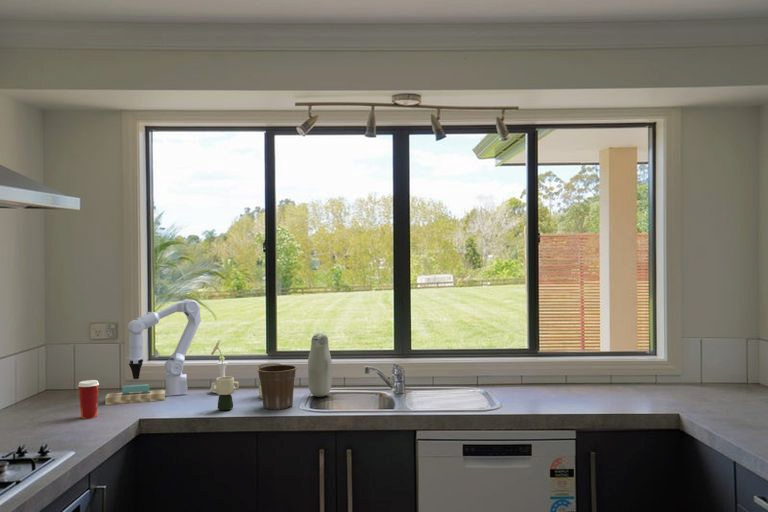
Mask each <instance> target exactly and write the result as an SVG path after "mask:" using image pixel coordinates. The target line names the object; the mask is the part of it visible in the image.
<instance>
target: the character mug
mask: <svg viewBox="0 0 768 512" xmlns="http://www.w3.org/2000/svg"><path fill="white" fill-rule="evenodd" d="M239 383H240V382H239V381H235V378H234V377H233V376H225V377H220V376H219V377H217V378H216V379H215V382H212V383H211V387H210V388H211V390H212V391H216V392H217V393H216V394H217V395H219V396H218V398H217V399H218V400H217V409H218V410H221V411H228V410H230V409H233V408H234V402H233V395H232V394H234V392H235V391H237V390H239V387H240V385H239ZM214 385H216V389H214ZM234 386H235V388H234Z"/></svg>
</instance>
